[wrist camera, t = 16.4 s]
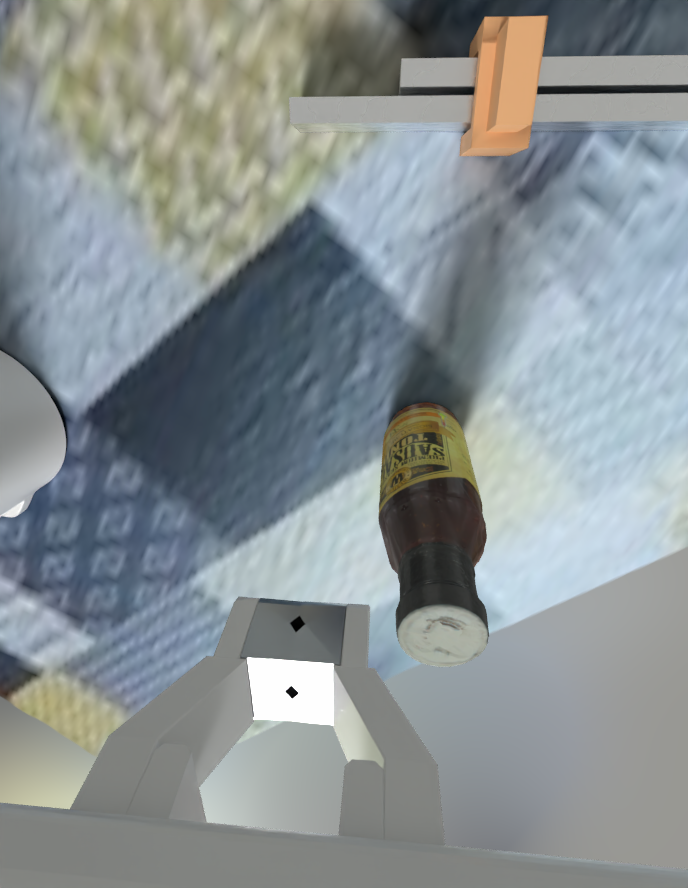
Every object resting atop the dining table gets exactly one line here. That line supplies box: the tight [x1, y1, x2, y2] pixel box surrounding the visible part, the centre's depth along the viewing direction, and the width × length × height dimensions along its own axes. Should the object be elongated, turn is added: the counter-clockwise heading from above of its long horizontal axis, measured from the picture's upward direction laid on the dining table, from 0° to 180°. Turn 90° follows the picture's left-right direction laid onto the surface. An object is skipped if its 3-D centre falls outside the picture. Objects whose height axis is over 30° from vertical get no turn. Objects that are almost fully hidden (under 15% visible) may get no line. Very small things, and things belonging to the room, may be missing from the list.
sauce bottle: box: [379, 402, 489, 667], centre depth 29 cm, size 6×6×20 cm
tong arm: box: [399, 55, 688, 96], centre depth 26 cm, size 18×1×4 cm, turn 90°
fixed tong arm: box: [289, 93, 688, 133], centre depth 27 cm, size 24×1×4 cm, turn 90°
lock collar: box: [459, 16, 548, 156], centre depth 25 cm, size 3×5×7 cm, turn 0°
